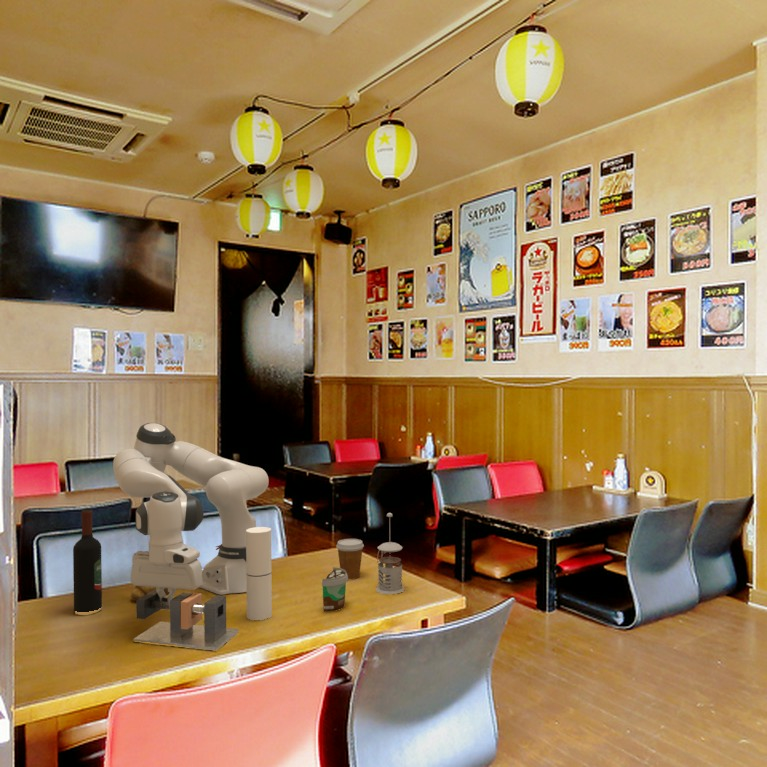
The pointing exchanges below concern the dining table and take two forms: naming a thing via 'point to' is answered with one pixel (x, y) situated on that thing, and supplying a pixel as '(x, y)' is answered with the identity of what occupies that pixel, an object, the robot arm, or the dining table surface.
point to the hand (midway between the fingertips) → (166, 603)
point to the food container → (334, 590)
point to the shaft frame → (197, 635)
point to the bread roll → (144, 591)
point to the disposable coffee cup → (350, 556)
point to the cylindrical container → (258, 573)
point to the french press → (389, 568)
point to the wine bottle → (87, 568)
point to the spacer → (186, 616)
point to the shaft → (156, 605)
